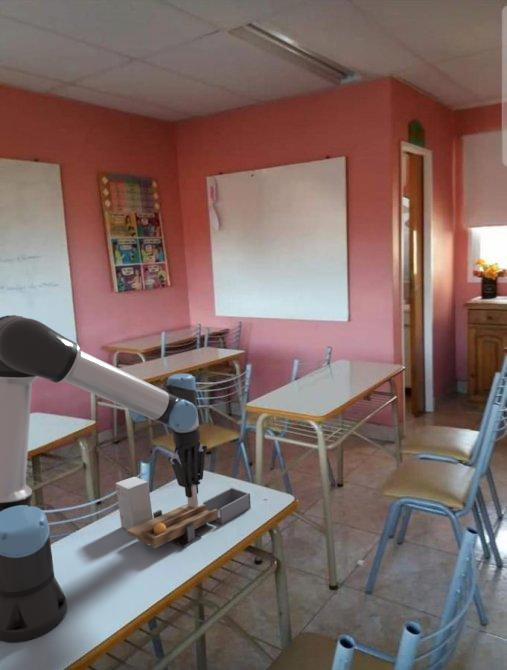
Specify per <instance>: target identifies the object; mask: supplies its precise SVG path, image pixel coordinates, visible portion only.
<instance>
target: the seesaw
mask: <svg viewBox="0 0 507 670" xmlns="http://www.w3.org/2000/svg"><path fill="white" fill-rule="evenodd" d="M217 518H218V510H217V509H214V510H212V511H207V510H206V505H205V504H203V503H202V505H198V507H196V508H193V507H191V506H188V503H186V504H184V505H183V506H180V507H178V508H175V509H173V510H170V511H168V512H166V513H164V514H163V513H162V515H161V516H158V517H156V518H154V517H153V519H151V520H149V521H147V522H144V523H142V524H140V525H137V526H135V527H133V528H130V529H128V530H127V529H126V534H127V535H129V536H130V537H132V538H135V539H136V540H139V541H141V542H143V543H145V544H146V545H149V546H151V547H153V548H154V549H156V548H158V547H160V546H162V545H164V544H166V543H168V542H172V541H171V540H173V539H175V538H177V537H179V536H181V535H183V534H185V533H186V531H185V527H187V526H189V525H191V524H194V530H196V529H198V528H200V527H202V526H204V525H207V524H208V523H211V522H213V520H215V519H217ZM157 523H163V524H164V525H165V526H166V532H164V533H162V534H159V535H156V534H155V533H154V527H155V525H156V524H157Z"/></svg>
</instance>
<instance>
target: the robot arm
mask: <svg viewBox="0 0 507 670" xmlns="http://www.w3.org/2000/svg"><path fill="white" fill-rule="evenodd" d="M194 377H195V376H193V375H192V374H190V373H175V374H172V375H169V376H168V377H167V381H166V384H165V385H164V386H156V385H153V384H151V383H149V382H147V381H145V380H143V379H141V378H139V377H137V376H135V375H133V374H131V373H128V372H126V371H125V370H122V369H120V368H119V367H117V366H114V365H113V364H110V363H108V362H106V361H103V360H102V359H100V358H97V357H95V356H93V355H91V354H89V353H87V352H85V351H83V350H80V346H79V344H78V343H77V342H75V341H73V340H71V339H69V338H67V337H65V336H64V335H62V334H60V333H59V332H58V331H55V330H54V329H52V328H51V327H49V326H48V325H46V324H44V323H42V322H41V321H39V320H36V319H33V318H27V317H23V316H20V315H15V314H13V315H4V316H0V641H2V642H7V643H9V642H10V643H19V642H25V641H29V640H34V639H36V638H39V637H40V636H43V635H45V634H47V633H48V632H50V631H52V630H53V629H55V628H56V627H57V626H58V625H59V624H60V623H61V622H62V621H63V619H64V618H65V616H66V614H67V611H68V605H67V598H66V595H65V593H64V591H63V589H62V588H61V585H60V583H59V582H58V581H57V578H56V576H55V571H54V562H53V553H52V544H51V535H50V524H49V522H48V518H47V517H48V516H47V515H46V513H45V511H43V510H42V509H41V508H39V507H37V506H34V505H32V500H33V499H32V498H33V490H32V488H31V487H30V486H28V485H27V483H26V481H27V467H28V465H27V464H28V451H29V439H30V438H29V436H30V435H29V434H30V433H29V432H30V422H31V421H30V420H31V404H32V391H33V390H32V388H33V383H34V381H36V380H37V379H38V378H42V379H44V380H45V379H46V380H48V381H50V382H52V383H56V384H61V383H63V382H65V383H67V384H69V385H71V386H74V387H76V388H79V389H81V390H84V391H86V392H88V393H90V394H93V395H95V396H97V397H100V398H102V399H105V400H107V401H109V402H111V403H113V404H116V405H118V406H120V407H123V408H125V409H127V410H128V413H129V415H130V417H131V419H132V421H134V422H136V423H137V422H143V421H144V422H145V421H146V420H152V421H154V422H157V423H160V424H162V425H164V426H166V427H169V428H170V429H172V438H173V439H172V440H173V443H174V445H175V446H174V447H175V449H174V454H173V455H172V456H170V457H169V458H168V462H169V463H170V464H171V467H172V469H173V471H174V472H173V473H174V474H175V479H176V480H177V481H176V482H177V484H178V486H179V487H182V488H184V493H185V496H186V498H187V504H188V506H191V507H193V508H196V507H198V506H199V502H198V501H199V500H198V495H199V485H200V484H201V481H202V480H203V478H204V469H205V468H204V467H205V461H206V452H207V449H208V446H207V445H205V444H201V442H200V440H201V436H200V435H201V434H200V432H201V431H200V428H199V425H200V424H199V413H198V401H197V388H196V381H195V378H194ZM200 480H201V481H200Z"/></svg>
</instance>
